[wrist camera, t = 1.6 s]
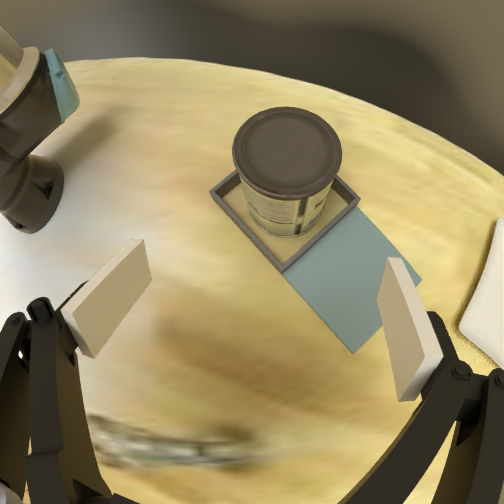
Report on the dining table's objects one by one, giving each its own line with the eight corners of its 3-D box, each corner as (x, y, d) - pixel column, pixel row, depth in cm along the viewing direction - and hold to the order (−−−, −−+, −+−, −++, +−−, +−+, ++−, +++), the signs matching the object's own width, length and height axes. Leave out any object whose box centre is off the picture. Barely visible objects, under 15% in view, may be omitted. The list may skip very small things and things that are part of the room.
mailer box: (213, 200, 40) (208, 191, 37) (286, 142, 41) (286, 130, 38) (352, 353, 34) (358, 356, 31) (420, 279, 35) (430, 277, 32)
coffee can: (258, 162, 41) (249, 98, 27) (328, 179, 39) (348, 119, 25) (238, 228, 39) (216, 182, 25) (313, 247, 37) (332, 210, 24)
